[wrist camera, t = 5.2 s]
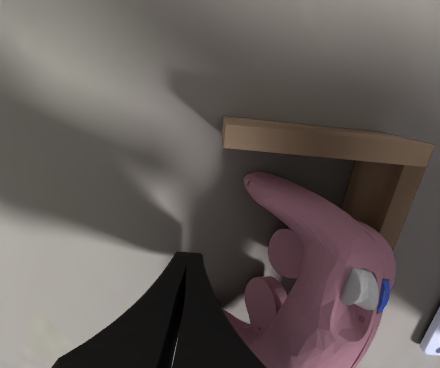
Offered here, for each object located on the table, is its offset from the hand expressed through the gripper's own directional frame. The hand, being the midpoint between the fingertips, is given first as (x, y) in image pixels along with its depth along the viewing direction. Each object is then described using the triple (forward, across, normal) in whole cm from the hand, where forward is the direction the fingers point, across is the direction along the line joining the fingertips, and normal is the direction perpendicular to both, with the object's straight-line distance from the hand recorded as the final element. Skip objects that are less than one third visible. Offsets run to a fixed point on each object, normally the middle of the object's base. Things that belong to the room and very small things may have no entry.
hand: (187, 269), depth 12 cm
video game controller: (+2, -4, 0) cm, 4 cm away
